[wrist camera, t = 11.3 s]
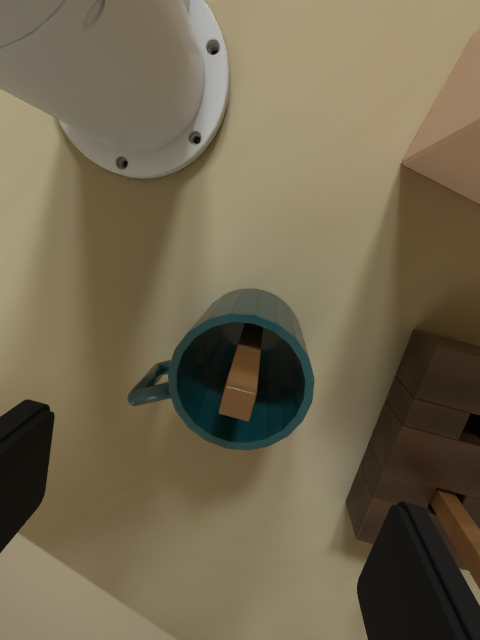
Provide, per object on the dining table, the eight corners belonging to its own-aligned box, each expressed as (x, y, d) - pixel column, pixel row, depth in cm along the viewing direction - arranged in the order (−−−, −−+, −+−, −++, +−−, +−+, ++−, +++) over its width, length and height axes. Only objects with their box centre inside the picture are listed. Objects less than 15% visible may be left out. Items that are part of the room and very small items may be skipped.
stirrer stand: (413, 328, 28) (436, 344, 24) (544, 363, 27) (589, 385, 23) (345, 502, 32) (355, 539, 28) (458, 533, 31) (485, 575, 28)
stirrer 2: (418, 460, 30) (523, 623, 18) (434, 464, 30) (551, 631, 17) (412, 473, 30) (510, 644, 18) (428, 478, 30) (538, 652, 18)
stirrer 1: (246, 316, 28) (225, 385, 15) (264, 320, 28) (256, 394, 15) (242, 332, 28) (217, 414, 16) (259, 337, 28) (248, 422, 16)
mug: (286, 276, 27) (293, 297, 19) (311, 374, 29) (328, 434, 20) (146, 314, 29) (92, 349, 20) (177, 404, 31) (139, 472, 22)
